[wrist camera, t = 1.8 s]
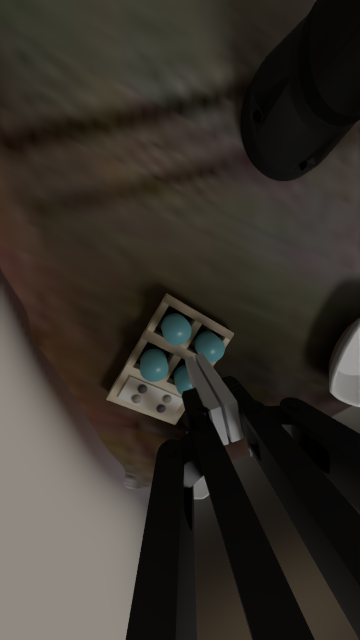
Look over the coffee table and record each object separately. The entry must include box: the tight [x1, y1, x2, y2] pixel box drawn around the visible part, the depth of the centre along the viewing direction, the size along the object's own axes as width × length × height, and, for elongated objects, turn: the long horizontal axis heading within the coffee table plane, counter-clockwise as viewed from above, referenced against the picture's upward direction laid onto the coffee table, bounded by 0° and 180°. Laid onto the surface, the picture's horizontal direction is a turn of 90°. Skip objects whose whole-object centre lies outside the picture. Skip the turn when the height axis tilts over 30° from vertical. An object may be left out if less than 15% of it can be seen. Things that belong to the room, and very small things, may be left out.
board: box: [106, 293, 234, 425], centre depth 33 cm, size 21×14×2 cm, turn 149°
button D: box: [174, 365, 192, 395], centre depth 31 cm, size 4×4×3 cm
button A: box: [161, 313, 191, 345], centre depth 29 cm, size 4×4×3 cm
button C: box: [140, 349, 168, 382], centre depth 30 cm, size 4×4×3 cm
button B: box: [194, 331, 225, 363], centre depth 30 cm, size 4×4×3 cm
